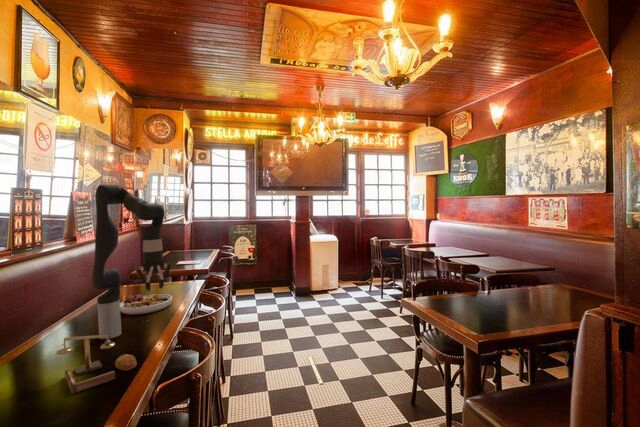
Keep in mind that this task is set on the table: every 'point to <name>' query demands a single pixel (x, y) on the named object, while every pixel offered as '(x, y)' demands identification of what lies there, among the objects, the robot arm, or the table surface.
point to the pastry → (126, 362)
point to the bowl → (145, 303)
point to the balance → (86, 353)
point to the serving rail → (87, 381)
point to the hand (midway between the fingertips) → (154, 289)
